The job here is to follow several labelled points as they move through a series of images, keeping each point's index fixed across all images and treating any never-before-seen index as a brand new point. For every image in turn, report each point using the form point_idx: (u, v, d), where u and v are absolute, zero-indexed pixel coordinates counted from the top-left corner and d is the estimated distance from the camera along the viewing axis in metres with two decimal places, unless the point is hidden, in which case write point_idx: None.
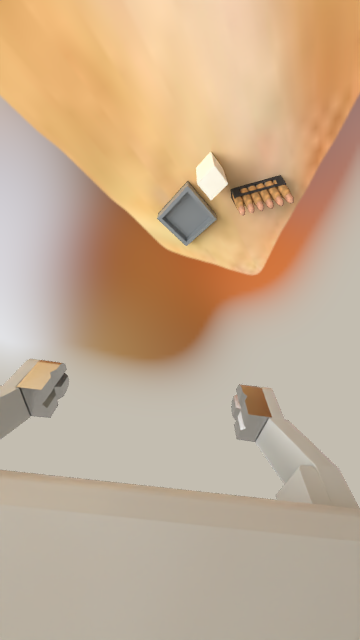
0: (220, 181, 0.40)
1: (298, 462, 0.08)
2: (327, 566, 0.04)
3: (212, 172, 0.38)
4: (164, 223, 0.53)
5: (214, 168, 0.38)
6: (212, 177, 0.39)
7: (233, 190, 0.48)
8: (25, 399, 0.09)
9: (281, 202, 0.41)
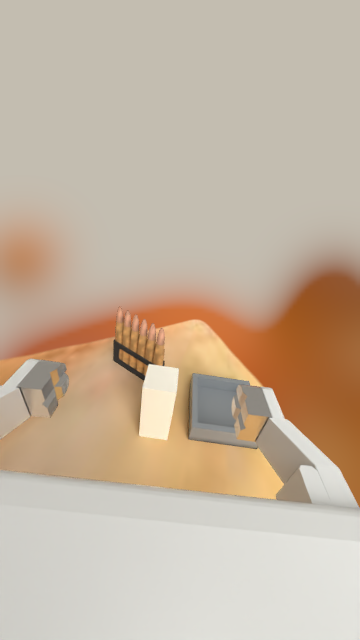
0: (152, 372, 0.27)
1: (298, 462, 0.08)
2: (327, 566, 0.04)
3: (150, 385, 0.26)
4: None
5: (145, 386, 0.26)
6: (155, 381, 0.26)
7: None
8: (25, 399, 0.09)
9: (126, 314, 0.35)
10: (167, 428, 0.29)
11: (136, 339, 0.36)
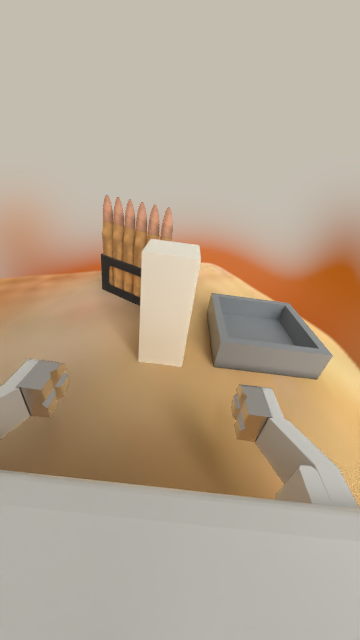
0: (158, 243, 0.17)
1: (298, 462, 0.08)
2: (327, 566, 0.04)
3: (155, 250, 0.15)
4: (317, 341, 0.21)
5: (146, 250, 0.15)
6: (164, 249, 0.16)
7: None
8: (25, 399, 0.09)
9: (116, 202, 0.25)
10: (183, 343, 0.18)
11: (131, 242, 0.26)
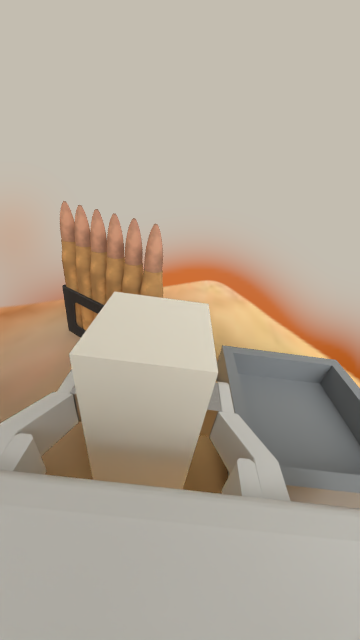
0: (124, 309, 0.08)
1: (242, 456, 0.07)
2: (327, 566, 0.04)
3: (107, 345, 0.06)
4: None
5: (84, 347, 0.06)
6: (131, 334, 0.07)
7: None
8: (77, 405, 0.09)
9: (77, 213, 0.16)
10: (176, 488, 0.10)
11: (102, 273, 0.17)
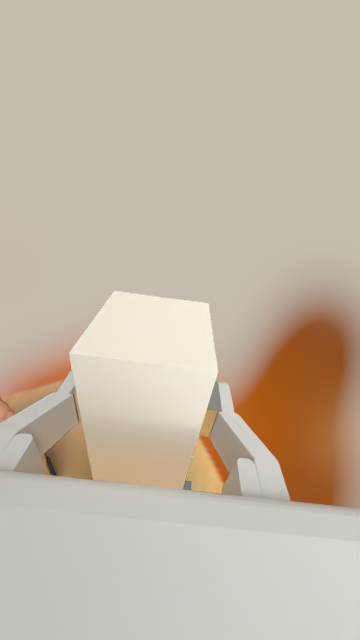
0: (124, 309, 0.08)
1: (241, 456, 0.07)
2: (327, 566, 0.04)
3: (106, 344, 0.06)
4: None
5: (84, 346, 0.06)
6: (131, 333, 0.07)
7: None
8: (77, 405, 0.09)
9: None
10: (176, 487, 0.10)
11: None
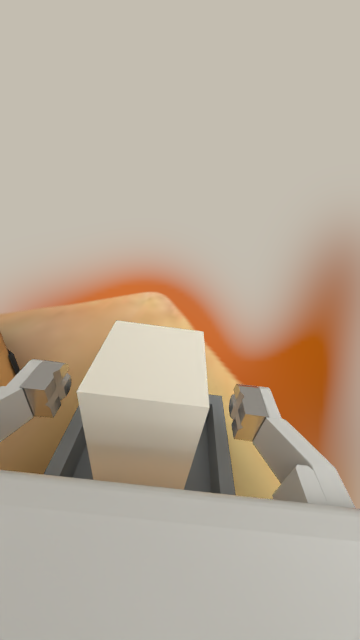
0: (125, 340, 0.09)
1: (295, 462, 0.08)
2: (327, 566, 0.04)
3: (110, 381, 0.07)
4: None
5: (90, 383, 0.07)
6: (131, 368, 0.07)
7: None
8: (28, 399, 0.09)
9: None
10: None
11: None
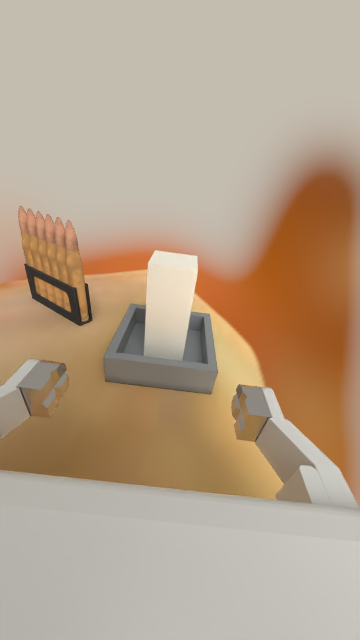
0: (161, 255, 0.19)
1: (298, 463, 0.08)
2: (327, 566, 0.04)
3: (159, 262, 0.18)
4: (211, 355, 0.21)
5: (152, 262, 0.18)
6: (166, 261, 0.18)
7: (76, 316, 0.27)
8: (25, 399, 0.09)
9: (27, 213, 0.25)
10: (182, 341, 0.21)
11: (46, 253, 0.26)
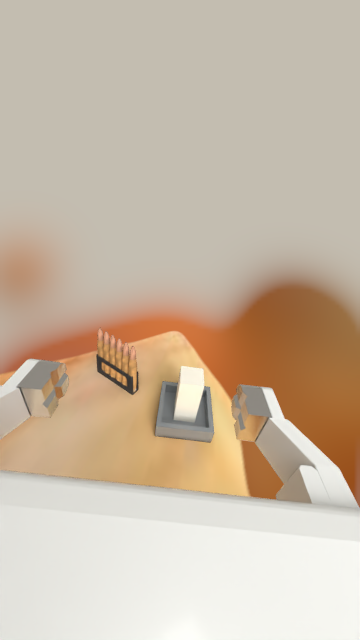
0: (185, 372, 0.38)
1: (298, 463, 0.08)
2: (327, 566, 0.04)
3: (185, 381, 0.36)
4: (210, 421, 0.39)
5: (181, 381, 0.36)
6: (188, 378, 0.36)
7: (130, 390, 0.45)
8: (25, 399, 0.09)
9: (105, 334, 0.43)
10: (195, 413, 0.39)
11: (114, 354, 0.44)
